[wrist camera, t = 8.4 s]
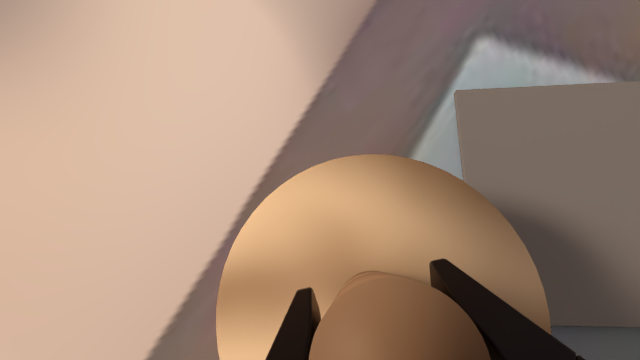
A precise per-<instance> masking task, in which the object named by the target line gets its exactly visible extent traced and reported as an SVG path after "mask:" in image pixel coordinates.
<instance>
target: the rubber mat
mask: <svg viewBox="0 0 640 360" xmlns="http://www.w3.org/2000/svg"><path fill="white" fill-rule="evenodd" d="M454 99H455V108H456V117H457V126H458V135H459V144H460V153H461V162H462V172H463V181H464V182H465V183H467V184H468V185H469V186H471V187H472V188H474V189H475V190H476V191H478V192H479V193H480V194H482V195H483V196H484V197H485V198H486V199H487V200H488V201H489V202H490V203H491V204H493V205H494V206H495V207H496V208H497V209H498V210H499V211H500V213H501V214H502V215H503V216H504V217H505V219H506V220H507V221H508V222H509V223H510V224H511V226H512V227H513V228H514V230H515V231H516V233H517V234H518V236H519V237H520V239H521V240H522V242H523V243H524V245H525V247H526V249H527V251H528V253H529V254H530V256H531V258H532V260H533V262H534V264H535V266H536V269H537V272H538V274H539V277H540V280H541V283H542V286H543V288H544V292H545V297H546V301H547V305H548V310H549V315H550V325H555V326H602V327H640V81H634V82H614V83H594V84H574V85H554V86H534V87H513V88H493V89H473V90H456V91H455V93H454Z"/></svg>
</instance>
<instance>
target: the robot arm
mask: <svg viewBox="0 0 640 360" xmlns="http://www.w3.org/2000/svg"><path fill="white" fill-rule="evenodd" d="M429 269H430V281H431V287H433V288H435V289H437V290H439V291H441V292H442V293H444V294H445V295H447V296H448V297H450V298H451V299H452V300H453V301H454V302H456V303H457V304H458V305H459V306H460V307H461V308H462V309H463V310H464V311H465V312H466V313H467V314H468V316H469V317H470V318H471V320H472V321H473V323H474V324H475V325H476V327H477V329H478V330H479V332H480V334H481V336H482V337H483V340H484V342H485V344H486V347H487V349H488V352H489V355H490V358H491V360H585V359H584V358H582V357H581V356H579V355H578V356H576V353H575V352H574V351H572V350H571V349H570V348H568V347H567V346H566V345H564V344H563V343H561V342H560V341H559V340H557V339H556V338H554V337H553V336H552V335H550V334H549V333H548V332H546V331H545V330H543V329H542V328H541V327H539V326H538V325H537V324H535V323H534V322H532V321H531V320H530V319H528V318H527V317H525V316H524V315H523V314H521V313H520V312H519V311H517V310H516V309H514V308H513V307H512V306H510V305H509V304H508V303H506V302H505V301H503V300H502V299H501V298H499V297H498V296H497V295H495V294H494V293H492V292H491V291H490V290H488V289H487V288H485V287H484V286H483V285H481V284H480V283H479V282H477V281H476V280H474V279H473V278H472V277H470V276H469V275H468V274H466V273H465V272H463V271H462V270H461V269H459V268H458V267H456V266H455V265H454V264H452V263H451V262H450V261H448V260H447V259H444V258H442V259H437V260H433V261H431V262H430V263H429ZM320 321H321V314H320V309H319V306H318V303H317V300H316V297H315V294H314V291H313V289H312V288H311V287H307V288H303V289H299V290H297V291H296V293H295V296H294V298H293V300H292V302H291V304H290V306H289V309H288V311H287V313H286V315H285V317H284V320H283V322H282V324H281V326H280V328H279V331H278V333H277V335H276V337H275V339H274V342H273V344H272V346H271V348H270V350H269V352H268V355H267V357H266V359H265V360H309V354H310V349H311V344H312V341H313V337H314V334H315V332H316V329H317V327H318V325H319V323H320Z"/></svg>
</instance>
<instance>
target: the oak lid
mask: <svg viewBox="0 0 640 360" xmlns="http://www.w3.org/2000/svg"><path fill="white" fill-rule="evenodd" d="M442 258H444V259H447V260H448V261H450V262H451V263H452V264H454V265H455V266H456V267H458V268H459V269H461V270H462V271H463V272H465V273H466V274H468V275H469V276H470V277H472V278H473V279H474V280H476V281H477V282H479V283H480V284H481V285H483V286H484V287H485V288H487V289H488V290H490V291H491V292H492V293H494V294H495V295H497V296H498V297H499V298H501V299H502V300H503V301H505V302H506V303H508V304H509V305H510V306H512V307H513V308H514V309H516V310H517V311H519V312H520V313H521V314H523V315H524V316H525V317H527V318H528V319H530V320H531V321H532V322H534V323H535V324H537V325H538V326H539V327H541V328H542V329H543V330H545V331H546V332H548V333H549V334H550V335H551V326H550V315H549V310H548V305H547V301H546V297H545V292H544V288H543V286H542V283H541V280H540V277H539V274H538V272H537V269H536V266H535V264H534V262H533V260H532V258H531V256H530V254H529V253H528V251H527V249H526V247H525V245H524V243H523V242H522V240H521V239H520V237H519V236H518V234H517V233H516V231H515V230H514V228H513V227H512V226H511V224H510V223H509V222H508V221H507V220H506V219H505V217H504V216H503V215H502V214H501V213H500V211H499V210H498V209H497V208H496V207H495V206H494V205H493V204H491V203H490V202H489V201H488V200H487V199H486V198H485V197H484V196H483V195H482V194H480V193H479V192H478V191H476V190H475V189H474V188H472V187H471V186H469V185H468V184H467V183H465V182H464V181H462V180H460V179H459V178H457V177H455V176H453V175H452V174H450V173H448V172H446V171H444V170H442V169H439V168H437V167H434V166H432V165H430V164H427V163H424V162H420V161H417V160H413V159H409V158H405V157H398V156H392V155H374V154H367V155H356V156H348V157H343V158H339V159H334V160H330V161H327V162H324V163H322V164H319V165H316V166H313V167H311V168H309V169H307V170H305V171H303V172H301V173H299V174H297V175H295V176H294V177H292V178H291V179H289V180H288V181H286V182H285V183H283V184H282V185H281V186H279V187H278V188H277V189H276V190H275V191H274V192H272V193H271V194H270V195H269V196H268V197H267V198H266V199H265V200H264V201H263V202H262V203H261V204H260V205H259V206H258V207H257V209H256V210H255V211H254V212H253V213H252V215H251V216H250V217H249V219H248V220H247V222H246V223H245V224H244V226H243V227H242V229H241V231H240V233H239V234H238V236H237V238H236V240H235V242H234V244H233V246H232V248H231V251H230V253H229V256H228V258H227V261H226V263H225V266H224V270H223V274H222V278H221V281H220V285H219V293H218V300H217V309H216V333H217V344H218V352H219V357H220V360H265V359H266V357H267V355H268V352H269V350H270V348H271V346H272V344H273V342H274V339H275V337H276V335H277V333H278V331H279V328H280V326H281V324H282V322H283V320H284V317H285V315H286V313H287V311H288V309H289V306H290V304H291V302H292V300H293V298H294V296H295V293H296V291H297V290H299V289H303V288H307V287H311V288H312V289H313V291H314V294H315V297H316V300H317V303H318V306H319V309H320V314H321V321H320V323H319V325H318V327H317V329H316V332H315V334H314V337H313V341H312V344H311V349H310V354H309V360H491V358H490V355H489V352H488V349H487V347H486V344H485V342H484V340H483V337H482V336H481V334H480V332H479V330H478V329H477V327H476V325H475V324H474V323H473V321H472V320H471V318H470V317H469V316H468V314H467V313H466V312H465V311H464V310H463V309H462V308H461V307H460V306H459V305H458V304H457V303H456V302H454V301H453V300H452V299H451V298H450V297H448V296H447V295H445V294H444V293H442V292H441V291H439V290H437V289H435V288H433V287H431V281H430V269H429V263H430V262H431V261H433V260H437V259H442Z"/></svg>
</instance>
